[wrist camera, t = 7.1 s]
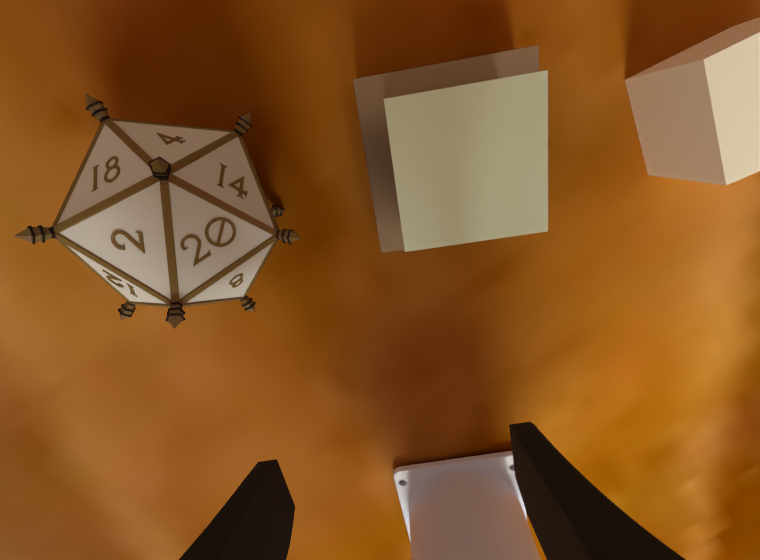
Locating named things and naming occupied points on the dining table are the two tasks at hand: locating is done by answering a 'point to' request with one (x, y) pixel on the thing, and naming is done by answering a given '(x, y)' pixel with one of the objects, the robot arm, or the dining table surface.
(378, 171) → the walnut base
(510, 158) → the sage cube
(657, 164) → the cream cube
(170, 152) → the game die
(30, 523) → the dining table surface
